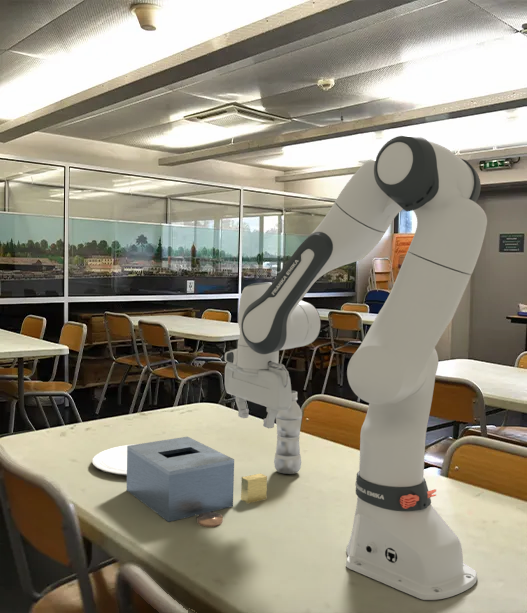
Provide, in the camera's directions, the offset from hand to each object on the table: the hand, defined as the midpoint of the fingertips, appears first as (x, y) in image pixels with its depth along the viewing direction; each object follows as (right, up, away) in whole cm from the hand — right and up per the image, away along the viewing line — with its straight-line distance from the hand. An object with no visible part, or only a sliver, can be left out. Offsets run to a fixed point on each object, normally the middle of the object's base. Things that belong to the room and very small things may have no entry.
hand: (255, 422), depth 133 cm
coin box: (-17, -16, 0) cm, 23 cm away
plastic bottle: (+8, -16, +19) cm, 26 cm away
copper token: (-9, -18, -11) cm, 23 cm away
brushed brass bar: (0, -17, +1) cm, 17 cm away
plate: (-28, -15, +23) cm, 39 cm away
